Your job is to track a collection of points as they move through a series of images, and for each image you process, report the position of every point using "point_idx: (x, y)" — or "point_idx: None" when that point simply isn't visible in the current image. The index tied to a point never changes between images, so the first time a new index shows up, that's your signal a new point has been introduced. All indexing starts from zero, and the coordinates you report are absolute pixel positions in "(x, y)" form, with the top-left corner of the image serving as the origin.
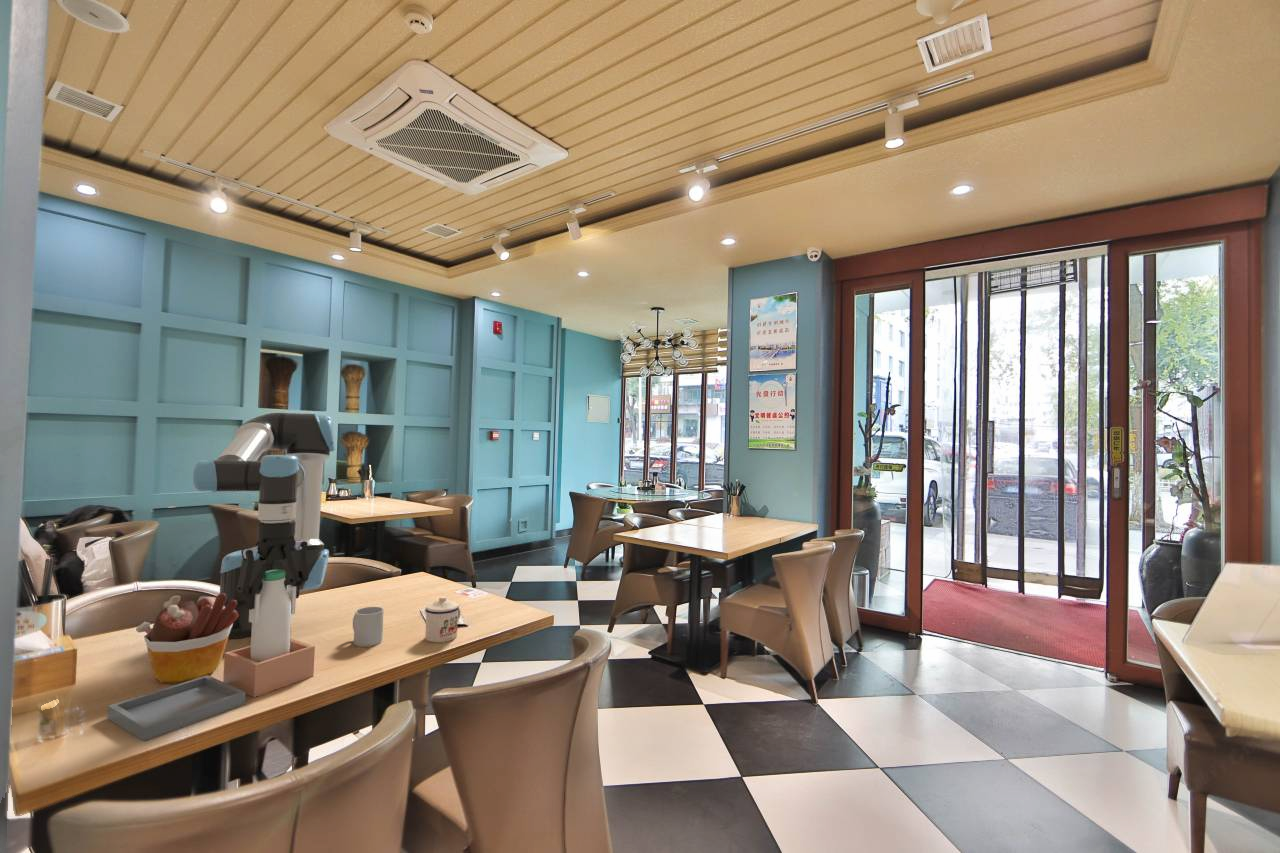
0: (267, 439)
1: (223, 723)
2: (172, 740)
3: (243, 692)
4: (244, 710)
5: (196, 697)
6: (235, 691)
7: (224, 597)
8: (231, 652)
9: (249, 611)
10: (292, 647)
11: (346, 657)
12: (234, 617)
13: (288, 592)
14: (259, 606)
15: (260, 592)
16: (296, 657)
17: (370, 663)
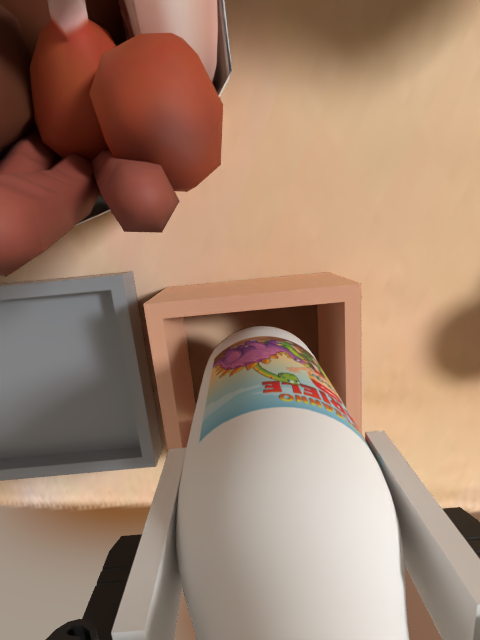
0: None
1: (104, 499)
2: (18, 498)
3: (151, 464)
4: (151, 475)
5: (83, 360)
6: (140, 446)
7: (10, 269)
8: (160, 319)
9: (156, 494)
10: (338, 366)
11: (458, 364)
12: (187, 190)
13: (433, 566)
14: (180, 594)
15: (204, 627)
16: None
17: (460, 449)
